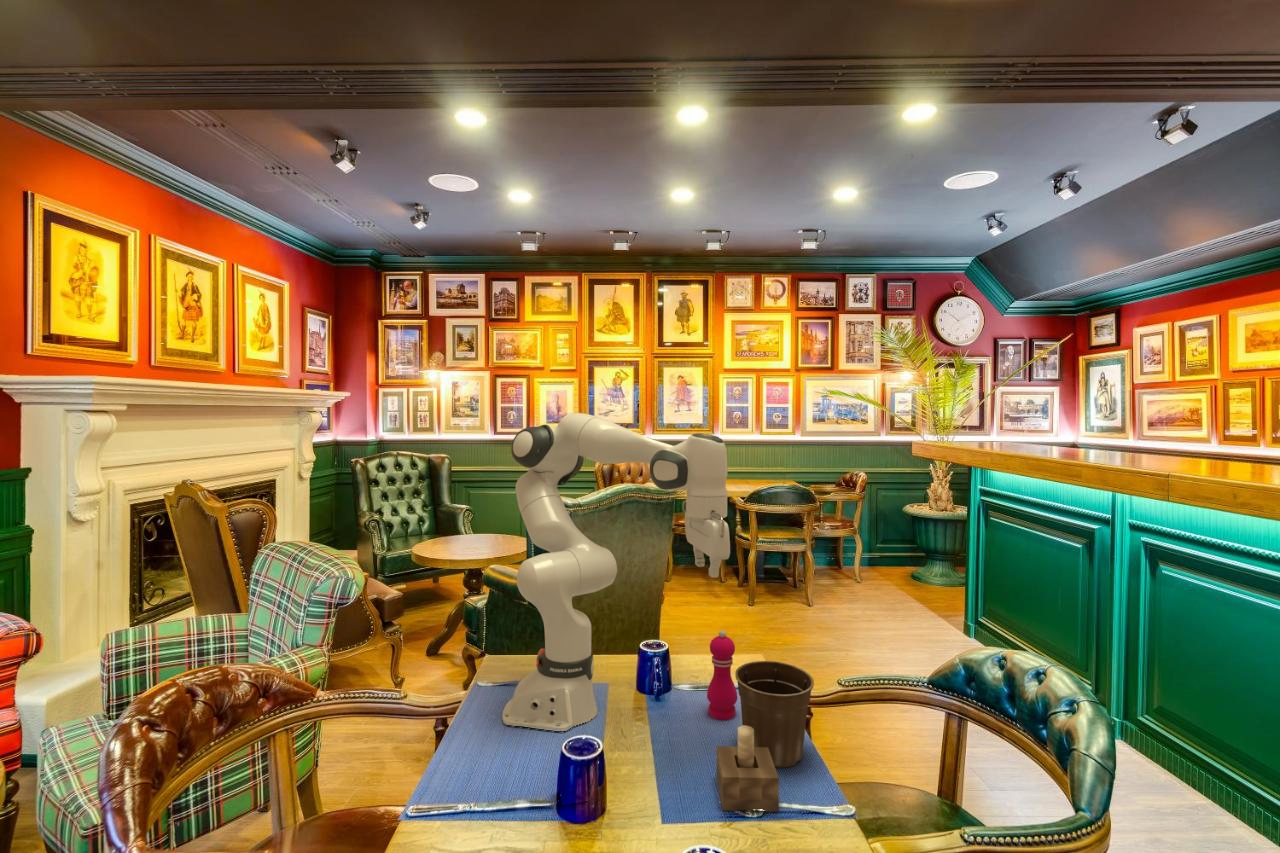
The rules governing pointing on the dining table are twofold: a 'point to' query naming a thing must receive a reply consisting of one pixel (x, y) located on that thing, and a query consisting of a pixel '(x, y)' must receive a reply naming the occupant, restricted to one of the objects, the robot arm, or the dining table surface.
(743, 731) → the pin
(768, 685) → the plant pot
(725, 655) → the pepper mill
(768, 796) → the bore block
